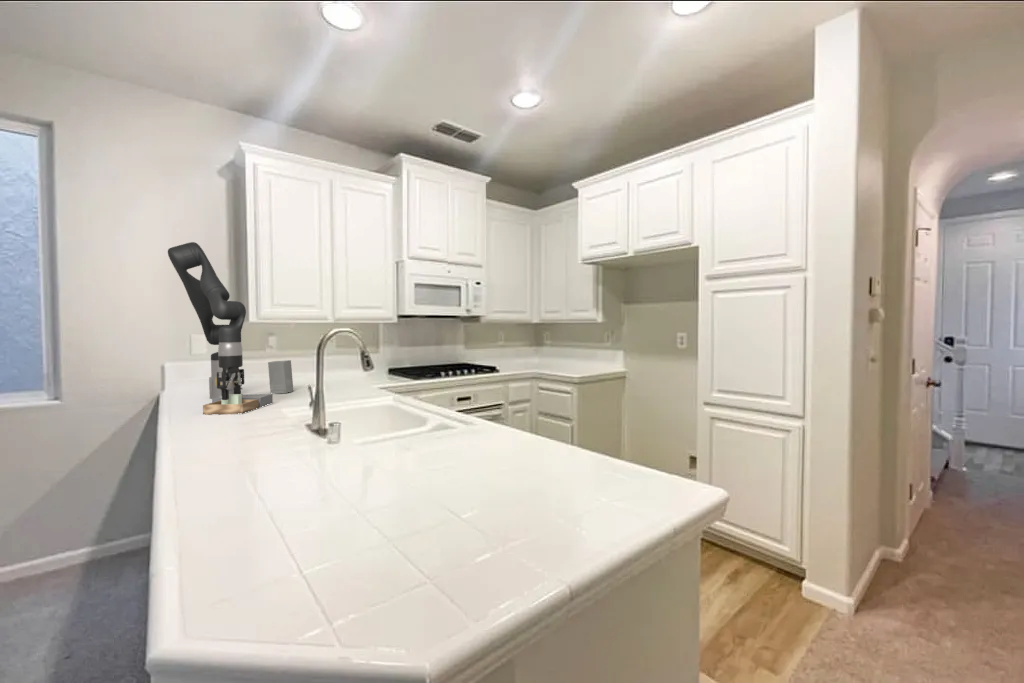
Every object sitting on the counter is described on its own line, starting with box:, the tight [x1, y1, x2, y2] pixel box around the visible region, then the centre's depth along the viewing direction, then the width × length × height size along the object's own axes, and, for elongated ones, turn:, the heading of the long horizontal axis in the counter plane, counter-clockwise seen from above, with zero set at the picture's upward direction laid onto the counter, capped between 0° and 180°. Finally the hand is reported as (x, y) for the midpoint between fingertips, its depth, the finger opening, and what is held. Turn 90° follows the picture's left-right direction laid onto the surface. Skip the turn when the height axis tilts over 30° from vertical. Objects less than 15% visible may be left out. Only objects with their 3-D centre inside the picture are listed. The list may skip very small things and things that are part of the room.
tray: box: [202, 399, 260, 416], centre depth 163 cm, size 14×12×4 cm
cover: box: [221, 393, 243, 404], centre depth 163 cm, size 6×8×6 cm
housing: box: [211, 393, 274, 408], centre depth 175 cm, size 18×10×4 cm, turn 95°
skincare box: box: [267, 360, 294, 394], centre depth 213 cm, size 8×7×16 cm
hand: (231, 398), depth 163 cm, fingers open, 7 cm apart
